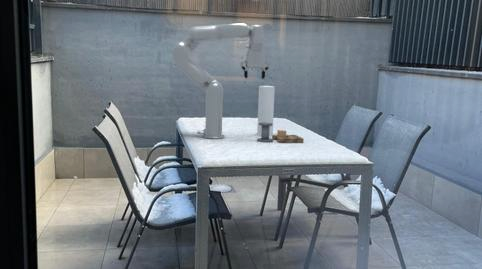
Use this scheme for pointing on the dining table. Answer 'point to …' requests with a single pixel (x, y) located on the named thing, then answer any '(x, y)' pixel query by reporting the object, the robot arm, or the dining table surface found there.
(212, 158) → the dining table surface
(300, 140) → the board
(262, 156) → the dining table surface
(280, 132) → the tab
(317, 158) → the dining table surface
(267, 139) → the spool
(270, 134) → the white tall cylinder
